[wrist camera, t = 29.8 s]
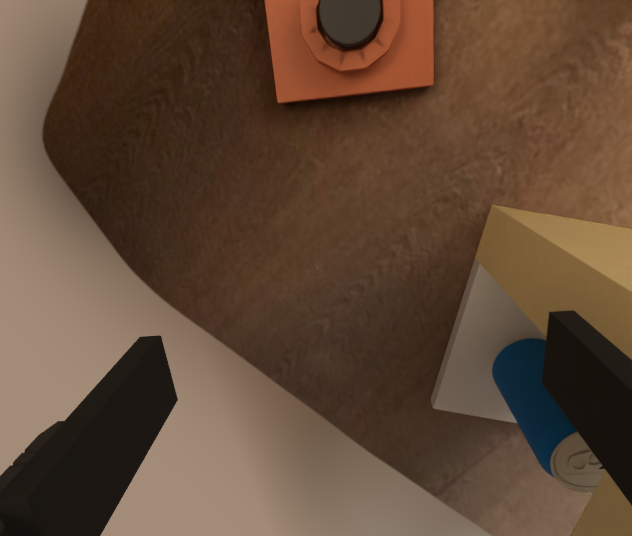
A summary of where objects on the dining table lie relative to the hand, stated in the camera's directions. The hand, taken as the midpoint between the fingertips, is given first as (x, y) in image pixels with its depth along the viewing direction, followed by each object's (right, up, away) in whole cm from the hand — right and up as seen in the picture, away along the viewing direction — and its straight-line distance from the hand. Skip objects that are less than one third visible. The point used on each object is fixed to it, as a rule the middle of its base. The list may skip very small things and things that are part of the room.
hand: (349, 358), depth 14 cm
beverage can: (+19, -6, +26) cm, 32 cm away
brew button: (+1, +21, +15) cm, 25 cm away
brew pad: (+1, +22, +18) cm, 28 cm away
